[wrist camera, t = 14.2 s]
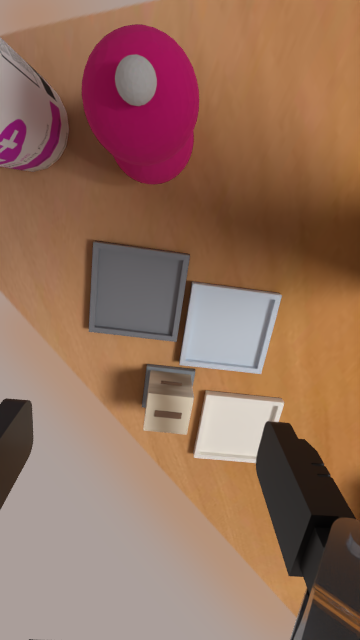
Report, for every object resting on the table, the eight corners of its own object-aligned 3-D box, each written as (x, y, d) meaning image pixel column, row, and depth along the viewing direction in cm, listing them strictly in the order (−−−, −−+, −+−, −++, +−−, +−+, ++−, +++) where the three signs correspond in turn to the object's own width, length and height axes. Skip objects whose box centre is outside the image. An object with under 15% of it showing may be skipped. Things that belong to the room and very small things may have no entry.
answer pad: (194, 369, 41) (195, 371, 40) (187, 408, 43) (187, 411, 42) (147, 363, 40) (146, 366, 40) (142, 404, 42) (141, 407, 42)
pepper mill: (133, 196, 33) (91, 197, 15) (103, 119, 31) (6, 2, 12) (200, 170, 33) (244, 135, 14) (175, 89, 30) (188, -84, 11)
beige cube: (191, 372, 40) (194, 395, 35) (184, 408, 42) (186, 435, 37) (151, 367, 40) (148, 390, 35) (146, 404, 42) (143, 430, 37)
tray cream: (281, 398, 43) (284, 402, 42) (263, 458, 46) (265, 463, 45) (205, 390, 42) (206, 394, 41) (193, 452, 45) (193, 457, 45)
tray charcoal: (189, 253, 36) (189, 255, 35) (176, 338, 39) (176, 341, 38) (95, 240, 35) (93, 242, 34) (90, 328, 38) (88, 331, 37)
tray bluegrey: (279, 292, 38) (281, 295, 37) (258, 369, 41) (261, 373, 40) (192, 281, 37) (192, 283, 36) (179, 361, 40) (179, 364, 39)
